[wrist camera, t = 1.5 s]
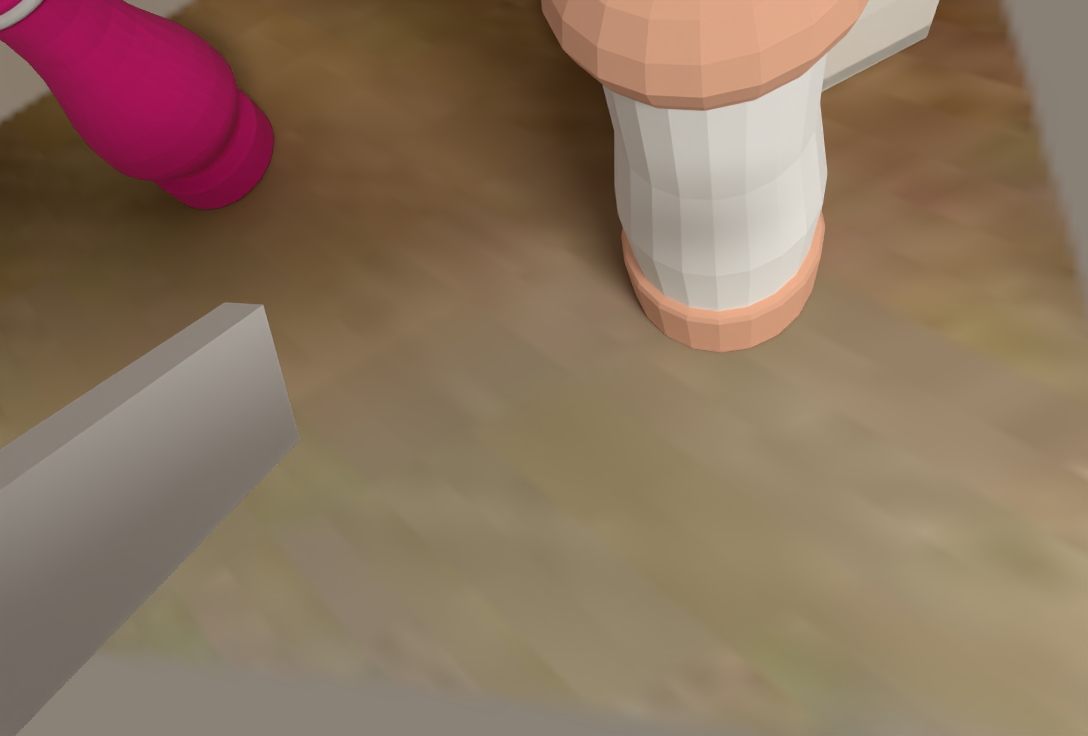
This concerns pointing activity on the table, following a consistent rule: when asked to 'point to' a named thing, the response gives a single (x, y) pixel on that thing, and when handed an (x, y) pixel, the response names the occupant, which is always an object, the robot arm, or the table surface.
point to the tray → (878, 36)
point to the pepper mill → (145, 95)
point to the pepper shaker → (714, 152)
